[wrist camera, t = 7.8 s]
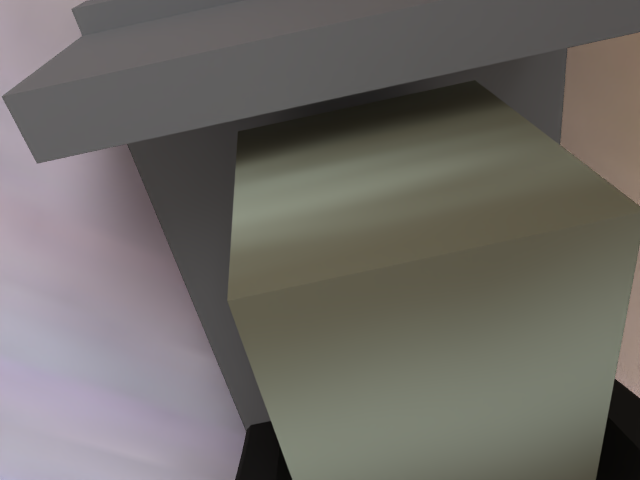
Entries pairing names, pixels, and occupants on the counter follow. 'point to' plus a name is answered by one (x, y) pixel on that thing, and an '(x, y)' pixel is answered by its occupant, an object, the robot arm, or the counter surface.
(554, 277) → the olive green rectangular block
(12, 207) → the counter surface
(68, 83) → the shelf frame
